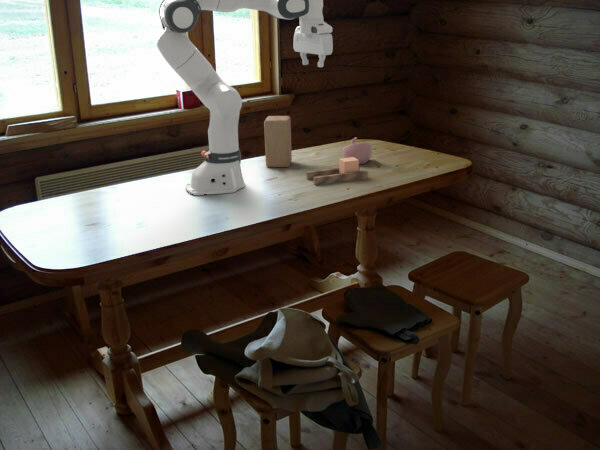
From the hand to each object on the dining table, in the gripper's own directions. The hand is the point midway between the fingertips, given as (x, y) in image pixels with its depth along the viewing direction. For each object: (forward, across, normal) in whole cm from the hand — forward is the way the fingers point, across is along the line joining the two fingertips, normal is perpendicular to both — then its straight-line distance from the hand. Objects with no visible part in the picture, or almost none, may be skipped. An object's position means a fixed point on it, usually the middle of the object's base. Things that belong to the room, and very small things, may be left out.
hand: (312, 65), depth 242 cm
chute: (+43, +10, +2) cm, 45 cm away
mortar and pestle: (+44, -3, +23) cm, 50 cm away
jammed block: (+42, +12, +7) cm, 44 cm away
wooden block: (+43, -24, -2) cm, 50 cm away
